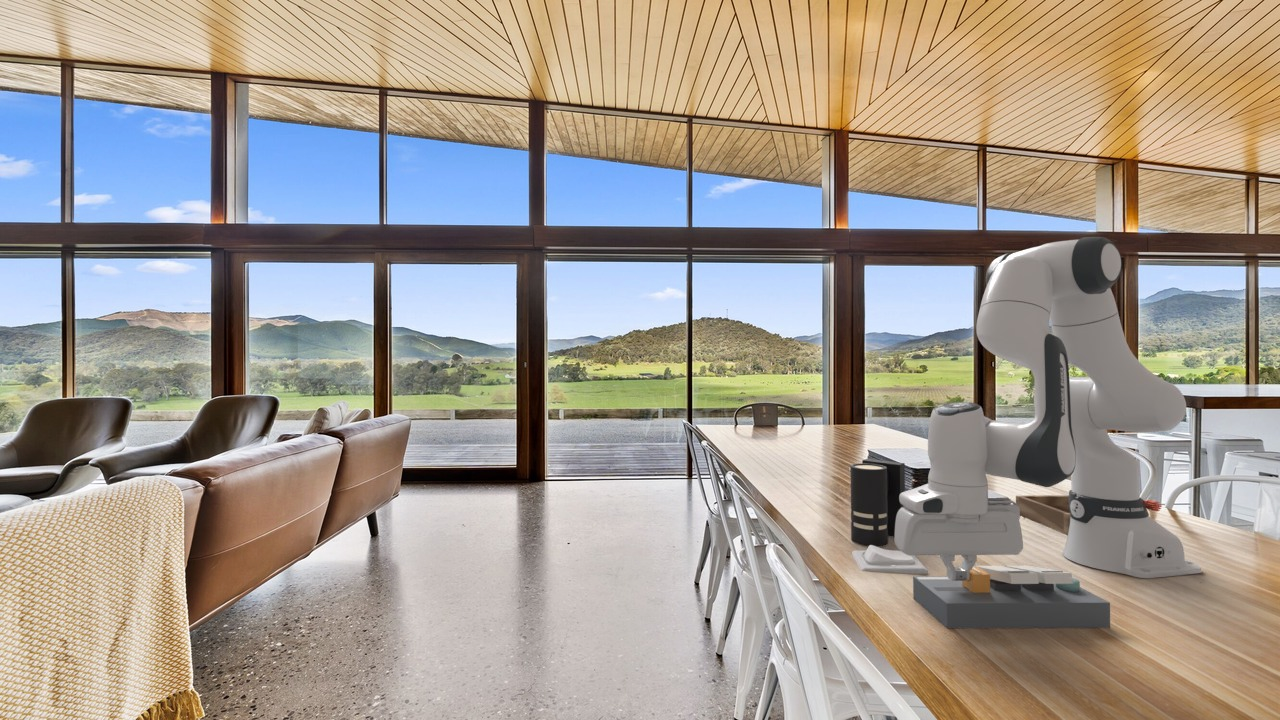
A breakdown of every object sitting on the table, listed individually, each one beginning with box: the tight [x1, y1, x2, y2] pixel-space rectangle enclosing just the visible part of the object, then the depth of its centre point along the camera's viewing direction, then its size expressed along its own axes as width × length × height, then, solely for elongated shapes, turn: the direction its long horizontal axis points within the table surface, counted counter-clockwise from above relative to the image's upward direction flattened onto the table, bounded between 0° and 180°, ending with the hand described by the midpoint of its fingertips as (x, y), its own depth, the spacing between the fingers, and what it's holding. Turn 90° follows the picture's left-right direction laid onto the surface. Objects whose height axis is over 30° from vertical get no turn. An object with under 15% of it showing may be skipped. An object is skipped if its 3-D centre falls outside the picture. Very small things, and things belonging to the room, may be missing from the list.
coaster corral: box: [1015, 494, 1071, 536], centre depth 143 cm, size 19×19×5 cm
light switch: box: [851, 545, 929, 575], centre depth 116 cm, size 11×4×13 cm
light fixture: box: [850, 458, 906, 548], centre depth 132 cm, size 10×14×18 cm
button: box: [1056, 577, 1081, 592], centre depth 93 cm, size 3×3×1 cm
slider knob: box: [962, 566, 990, 593], centre depth 93 cm, size 3×3×3 cm
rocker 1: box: [973, 565, 1039, 584], centre depth 93 cm, size 4×10×2 cm, turn 179°
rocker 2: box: [1004, 565, 1073, 584], centre depth 93 cm, size 4×10×2 cm, turn 179°
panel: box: [912, 575, 1111, 629], centre depth 93 cm, size 26×11×5 cm, turn 89°
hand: (958, 579), depth 93 cm, fingers closed
